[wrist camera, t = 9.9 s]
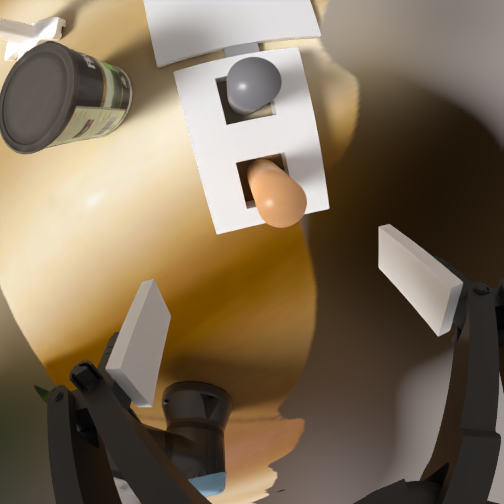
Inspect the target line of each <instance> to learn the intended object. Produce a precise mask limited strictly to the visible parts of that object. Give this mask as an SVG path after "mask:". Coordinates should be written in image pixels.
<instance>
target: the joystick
mask: <svg viewBox="0 0 504 504" xmlns="http://www.w3.org/2000/svg"><path fill="white" fill-rule="evenodd" d="M65 25H66V21H65V20H63V19H61V18H59V17H51V18H46V19H43V20H40V21H37V22H35V23H33V24H31V25H29V24H25V23H20V22H16V21H11V20H6V19H0V39H3V40H7V41H9V42H8V44H7V48H6V53H5V60H6V61H14V60H15V59H16V58H17V57H18V58H17V61H18V60H19V59H20V58H21V57H22V56H23V55H24V54H25V53H26V52H27V51H29V50H30V49H32V48H33V47H35V46H37V45H39V44H42V43H46V42H47V41H58V40H59V39H60V38H61V37H62V34H61V29H62V27H65Z"/></svg>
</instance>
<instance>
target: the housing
mask: <svg viewBox="0 0 504 504" xmlns="http://www.w3.org/2000/svg"><path fill="white" fill-rule="evenodd" d="M248 57H260V58H263V59H266V60H268V61H270V62H271V63H273V64H274V65H275V66H276V68H277V69H278V70H279V72H280V75H281V79H282V84H281V89H280V91H279V93H278V95H277V96H276V97H275V98H274V99H273V100H272V101H271V102H270V106H271V110H272V116H267V117H262V118H256V119H252V120H247V121H242V122H238V123H233V124H229V125H227V124H226V120H225V116H224V112H223V108H222V104H221V100H220V96H219V92H218V88H217V84H216V83H218V82H222V81H226V80H227V75H228V72H229V70H230V69H231V67H232V66H233V65H234V64H235V63H236V62H238V61H239V60H241V59H244V58H248ZM173 73H174V77H175V81H176V86H177V90H178V94H179V98H180V102H181V106H182V110H183V114H184V118H185V121H186V125H187V129H188V133H189V137H190V141H191V144H192V148H193V152H194V156H195V159H196V163H197V167H198V170H199V174H200V178H201V181H202V185H203V188H204V192H205V195H206V199H207V202H208V206H209V209H210V213H211V216H212V220H213V223H214V227H215V230H216V233H217V234H221V233H225V232H229V231H233V230H238V229H242V228H246V227H250V226H254V225H259V224H263V223H266V222H265V221H264V220H263V219H262V218H261V216H260V215H259V212H258V209H257V206H256V203H255V200H253V201H248V202H245V198H244V194H243V190H242V186H241V182H240V178H239V173H238V169H237V165H236V163H237V162H241V161H245V160H250V159H254V158H259V157H263V156H268V155H273V154H278V153H281V157H282V162H283V167H284V172H285V173H286V174H287V175H288V176H290V177H291V178H292V179H293V180H294V181H295V182H296V183H298V184H299V185H300V186H301V187H302V189H303V190H304V192H305V194H306V198H307V207H306V210H305V213H304V214H307V213H312V212H316V211H321V210H326V209H329V204H328V195H327V187H326V181H325V174H324V167H323V161H322V154H321V149H320V143H319V137H318V132H317V126H316V121H315V116H314V111H313V106H312V102H311V97H310V93H309V88H308V84H307V80H306V75H305V71H304V67H303V63H302V60H301V56H300V52H299V48H298V47H295V48H284V49H276V50H268V51H261V52H254V53H248V54H243V55H238V56H232V57H228V58H223V59H219V60H214V61H210V62H206V63H202V64H198V65H195V66H191V67H188V68H184V69H181V70H178V71H175V72H173Z"/></svg>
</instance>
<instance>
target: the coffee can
mask: <svg viewBox="0 0 504 504" xmlns="http://www.w3.org/2000/svg"><path fill="white" fill-rule="evenodd" d="M131 102H132V85H131V82H130V79H129V77H128V76H127V74H126V73H125V72H124V71H123V70H122V69H120V68H119V67H117V66H114V65H110V64H108V63H105V62H103V61H101V60H98V59H96V58H93V57H91V56H88V55H85V54H83V53H80V52H77V51H75V50H72V49H69V48H67V47H66V46H64V45H62V44H60V43H55V42H46V43H42V44H39V45H37V46H35V47H33V48H32V49H30V50H29V51H27V52H26V53H25V54H24V55H23V56H22V57H21V58H20V59H19V60H18V61H17V62H16V63H15V65H14V66H13V67H12V69H11V70H10V72H9V74H8V76H7V78H6V80H5V82H4V84H3V87H2V90H1V93H0V133H1V136H2V138H3V140H4V142H5V143H6V144H7V146H8V147H9V148H10V149H12V150H13V151H15V152H16V153H20V154H31V153H35V152H38V151H40V150H42V149H44V148H48V147H53V146H57V145H61V144H66V143H70V142H76V141H81V140H87V139H95V138H100V137H104V136H106V135H108V134H110V133H111V132H113V131H114V130H115V129H116V128H117V127H118V126H119V125H120V124H121V123H122V122H123V120H124V119H125V117H126V115H127V113H128V112H129V109H130V106H131Z"/></svg>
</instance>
